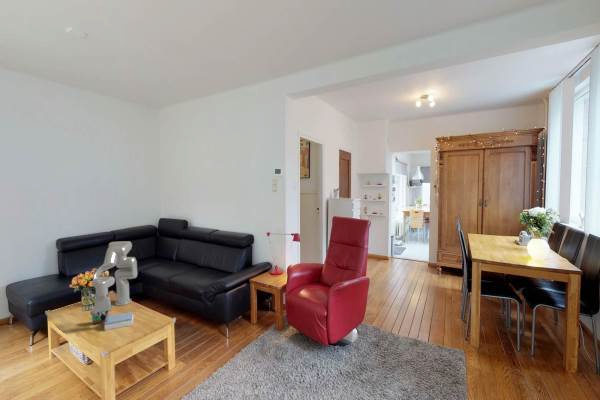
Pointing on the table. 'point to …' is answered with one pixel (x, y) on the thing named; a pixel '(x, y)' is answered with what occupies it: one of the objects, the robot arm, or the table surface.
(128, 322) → the white rectangular tray
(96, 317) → the food container
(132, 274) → the robot arm
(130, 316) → the lid
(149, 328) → the table surface
